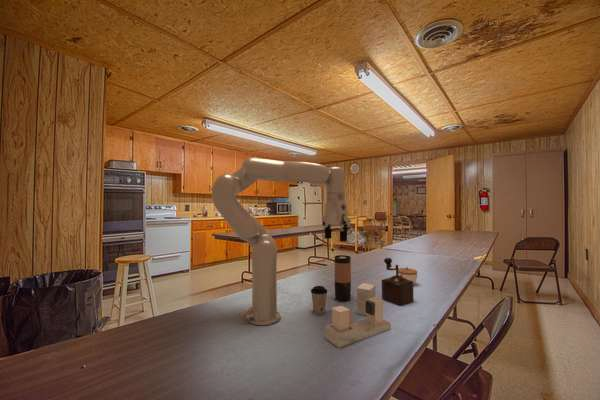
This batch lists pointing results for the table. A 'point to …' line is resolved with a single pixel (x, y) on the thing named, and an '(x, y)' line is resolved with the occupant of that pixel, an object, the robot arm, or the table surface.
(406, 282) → the manual coffee grinder
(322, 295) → the coffee cup
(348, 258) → the travel mug
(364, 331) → the rail
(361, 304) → the small box
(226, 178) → the robot arm
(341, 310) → the beige orange block
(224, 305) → the table surface
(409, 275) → the lidded jar
